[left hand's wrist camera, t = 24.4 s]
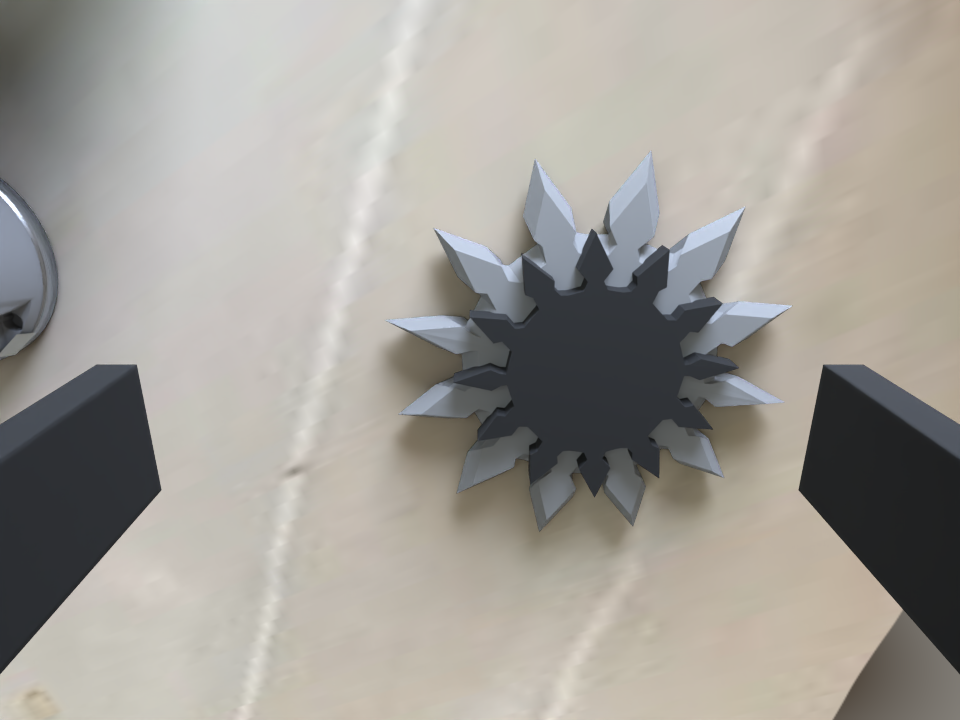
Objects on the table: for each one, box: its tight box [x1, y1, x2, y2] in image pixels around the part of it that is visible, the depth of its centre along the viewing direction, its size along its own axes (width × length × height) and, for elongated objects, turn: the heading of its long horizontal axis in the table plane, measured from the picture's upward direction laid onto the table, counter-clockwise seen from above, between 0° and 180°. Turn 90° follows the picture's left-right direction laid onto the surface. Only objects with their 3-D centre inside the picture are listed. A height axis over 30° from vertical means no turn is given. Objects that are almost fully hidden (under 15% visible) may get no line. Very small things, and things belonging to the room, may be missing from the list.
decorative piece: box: [385, 151, 792, 532], centre depth 46 cm, size 30×4×30 cm
